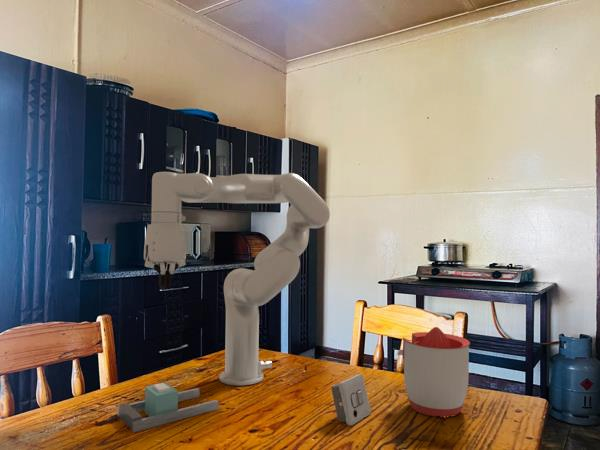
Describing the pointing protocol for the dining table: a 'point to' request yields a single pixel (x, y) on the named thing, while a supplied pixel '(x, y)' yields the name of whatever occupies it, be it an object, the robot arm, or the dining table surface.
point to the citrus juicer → (436, 372)
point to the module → (160, 399)
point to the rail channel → (137, 423)
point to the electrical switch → (351, 400)
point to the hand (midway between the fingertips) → (165, 288)
